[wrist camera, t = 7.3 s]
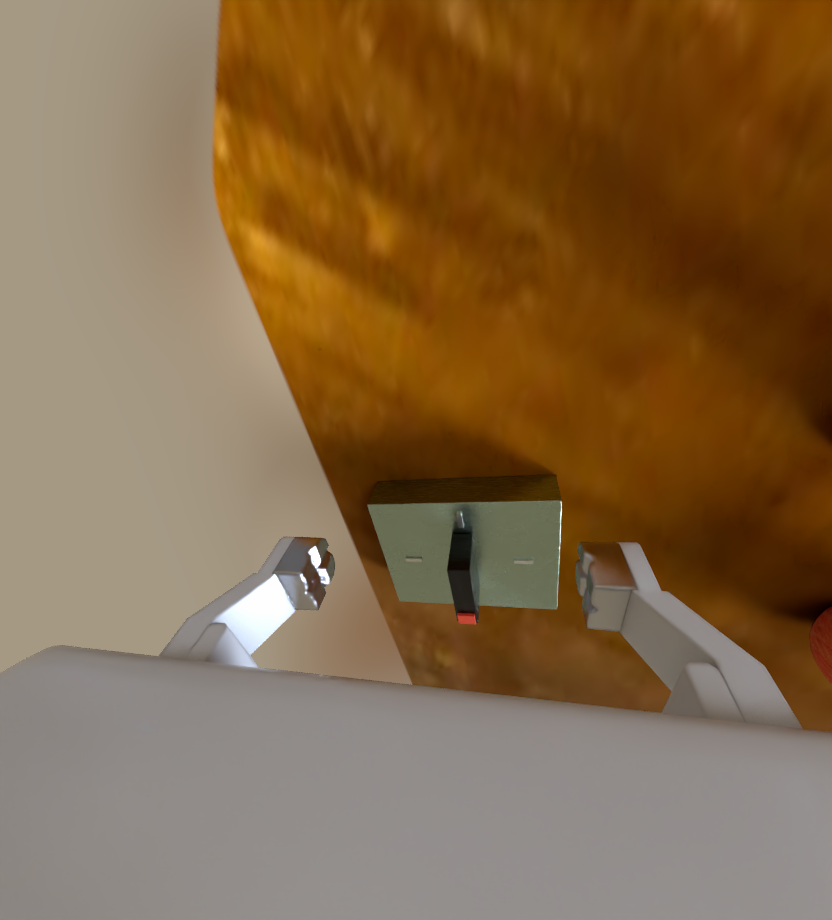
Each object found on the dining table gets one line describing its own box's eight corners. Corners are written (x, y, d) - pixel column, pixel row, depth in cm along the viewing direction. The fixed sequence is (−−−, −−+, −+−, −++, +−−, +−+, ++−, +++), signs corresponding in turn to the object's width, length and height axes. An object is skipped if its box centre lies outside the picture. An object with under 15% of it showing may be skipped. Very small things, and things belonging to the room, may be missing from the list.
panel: (405, 575, 36) (398, 603, 33) (377, 481, 30) (366, 506, 27) (552, 580, 32) (557, 611, 30) (556, 474, 26) (562, 502, 24)
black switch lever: (451, 533, 27) (446, 573, 24) (472, 533, 27) (469, 574, 24) (461, 583, 30) (457, 624, 27) (479, 584, 30) (478, 626, 27)
